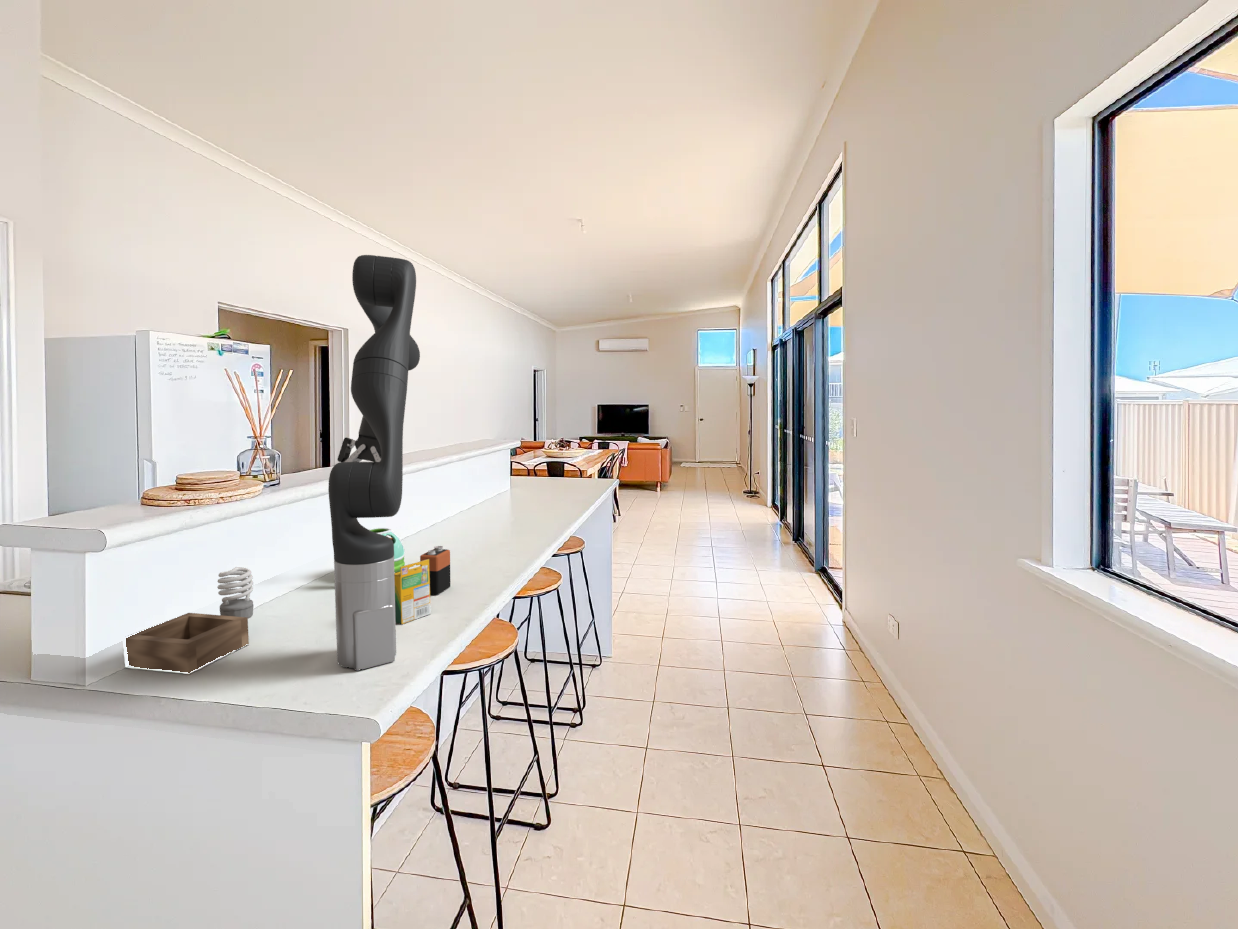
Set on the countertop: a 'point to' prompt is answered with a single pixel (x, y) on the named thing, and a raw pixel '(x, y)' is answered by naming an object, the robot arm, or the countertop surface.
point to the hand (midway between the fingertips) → (362, 486)
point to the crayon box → (412, 592)
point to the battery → (438, 569)
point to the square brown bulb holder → (187, 642)
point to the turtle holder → (398, 547)
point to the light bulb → (233, 603)
